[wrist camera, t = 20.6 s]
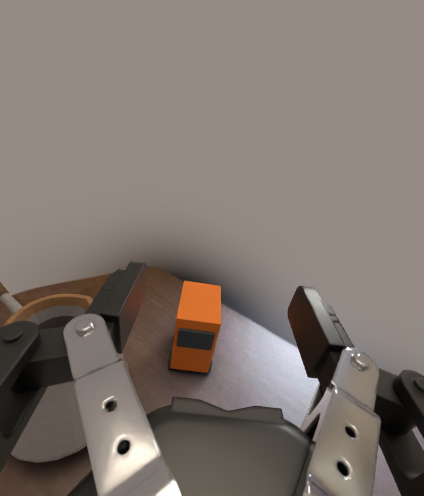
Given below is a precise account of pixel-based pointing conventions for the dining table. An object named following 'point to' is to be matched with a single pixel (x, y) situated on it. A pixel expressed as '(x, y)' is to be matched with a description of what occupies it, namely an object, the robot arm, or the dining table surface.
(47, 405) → the coffee pot
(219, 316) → the toy van
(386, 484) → the dining table surface
